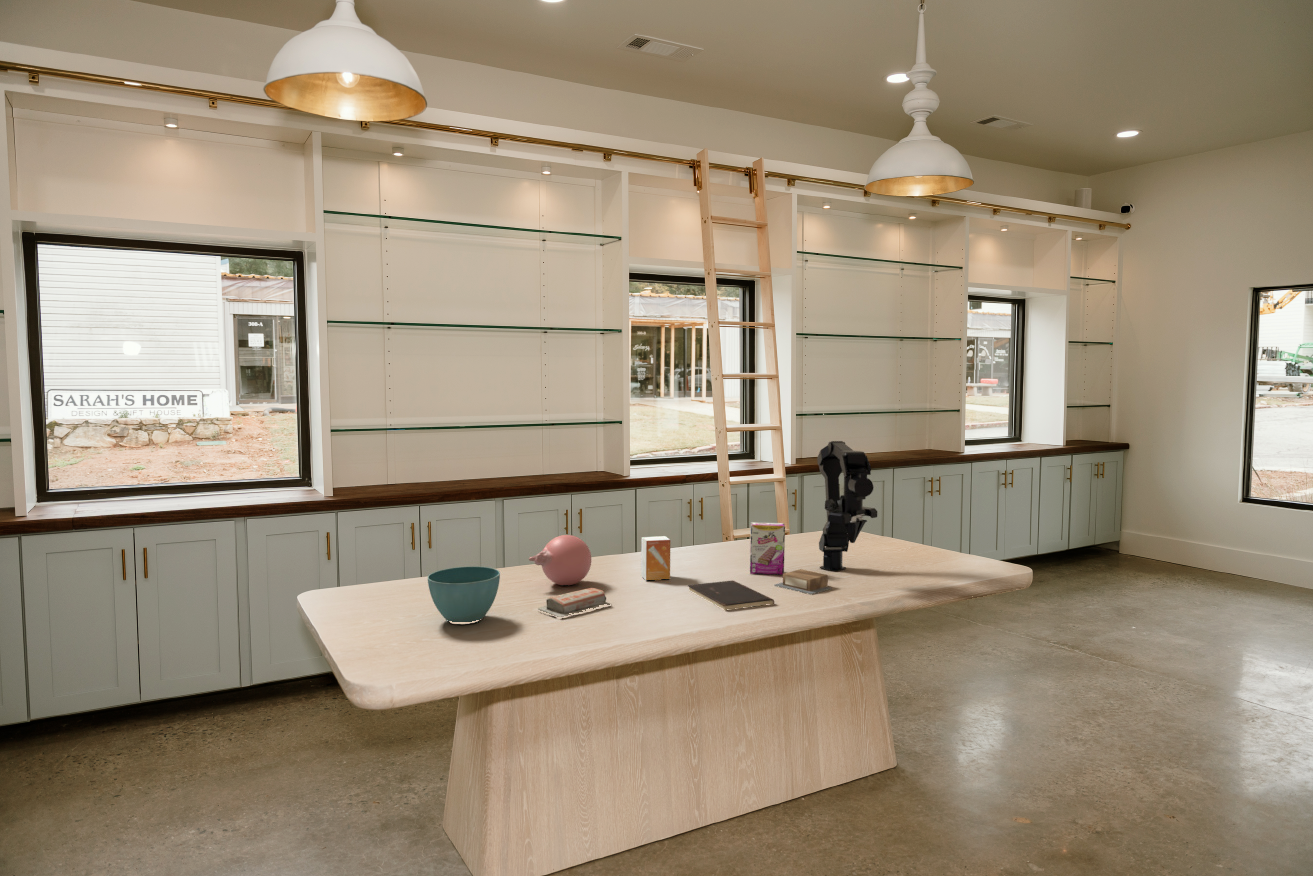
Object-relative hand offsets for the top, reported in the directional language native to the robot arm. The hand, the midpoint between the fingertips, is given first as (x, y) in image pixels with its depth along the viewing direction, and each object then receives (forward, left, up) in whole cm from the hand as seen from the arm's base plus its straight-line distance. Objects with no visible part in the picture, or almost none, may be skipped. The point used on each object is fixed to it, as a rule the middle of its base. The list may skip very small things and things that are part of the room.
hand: (852, 542), depth 238 cm
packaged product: (+79, -35, -14) cm, 88 cm away
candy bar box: (+8, -27, -13) cm, 31 cm away
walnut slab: (+8, -8, -11) cm, 16 cm away
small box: (+40, -46, -13) cm, 62 cm away
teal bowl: (+107, -46, -13) cm, 117 cm away
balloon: (+68, -59, -13) cm, 91 cm away
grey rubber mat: (+14, -8, -13) cm, 21 cm away
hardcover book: (+39, -15, -14) cm, 44 cm away
